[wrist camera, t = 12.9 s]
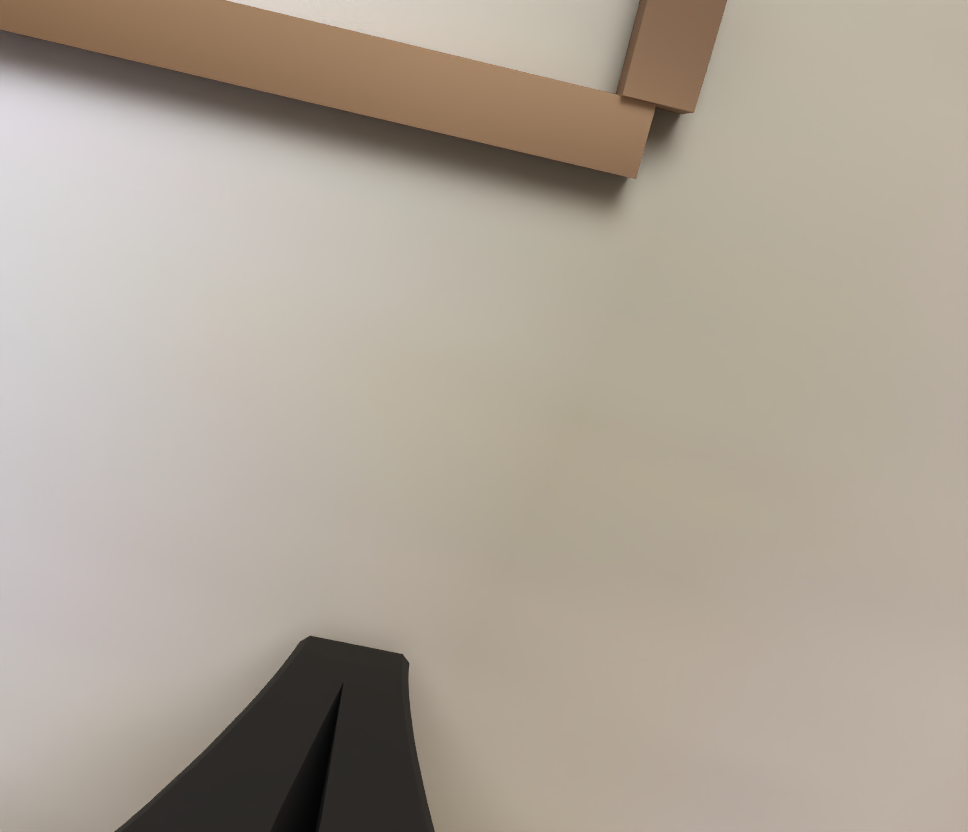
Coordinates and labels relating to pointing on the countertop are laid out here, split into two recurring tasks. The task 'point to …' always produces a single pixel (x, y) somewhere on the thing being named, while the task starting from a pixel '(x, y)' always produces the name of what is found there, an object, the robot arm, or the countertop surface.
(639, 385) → the countertop surface
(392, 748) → the robot arm
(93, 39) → the track
